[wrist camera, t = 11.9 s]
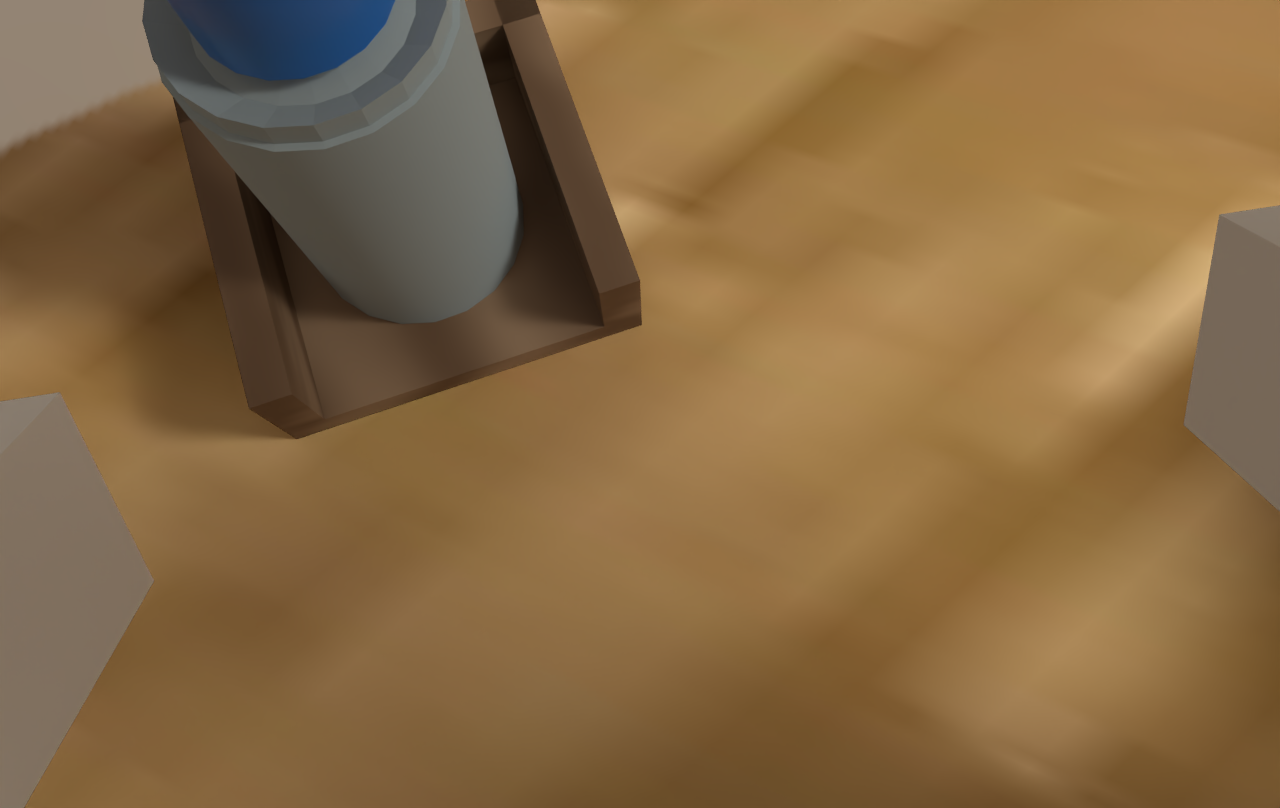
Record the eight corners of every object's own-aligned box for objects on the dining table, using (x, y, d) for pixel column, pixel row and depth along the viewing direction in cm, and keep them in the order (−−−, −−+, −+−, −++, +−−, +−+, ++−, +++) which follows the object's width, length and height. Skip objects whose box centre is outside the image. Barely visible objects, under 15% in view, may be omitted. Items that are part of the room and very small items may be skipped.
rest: (542, 54, 44) (528, -18, 40) (641, 324, 41) (639, 280, 36) (223, 152, 43) (171, 89, 38) (296, 439, 39) (249, 408, 35)
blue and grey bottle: (376, 103, 42) (5, -651, 18) (559, 176, 41) (423, -523, 17) (275, 275, 40) (-298, -319, 16) (465, 357, 39) (157, -147, 15)
